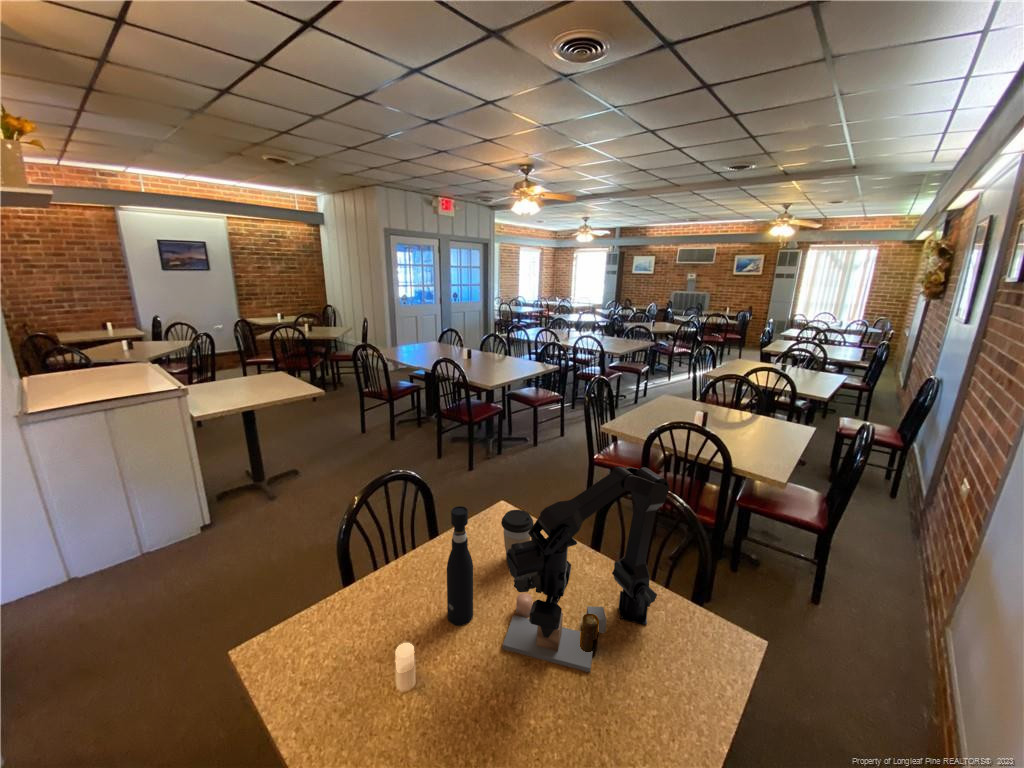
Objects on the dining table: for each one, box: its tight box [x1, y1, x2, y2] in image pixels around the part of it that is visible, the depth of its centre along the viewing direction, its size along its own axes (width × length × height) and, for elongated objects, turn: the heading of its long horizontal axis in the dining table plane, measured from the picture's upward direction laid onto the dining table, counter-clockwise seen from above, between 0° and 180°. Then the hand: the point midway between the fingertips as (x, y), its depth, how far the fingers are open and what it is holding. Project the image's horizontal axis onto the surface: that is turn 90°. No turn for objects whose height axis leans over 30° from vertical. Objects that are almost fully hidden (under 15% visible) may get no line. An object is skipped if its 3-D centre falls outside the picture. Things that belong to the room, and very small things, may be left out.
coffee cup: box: [501, 509, 535, 560], centre depth 123 cm, size 9×9×15 cm
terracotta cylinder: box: [515, 592, 533, 619], centre depth 106 cm, size 4×4×4 cm
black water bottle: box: [446, 505, 474, 627], centre depth 101 cm, size 6×6×30 cm
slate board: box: [502, 614, 594, 673], centre depth 97 cm, size 20×9×1 cm, turn 74°
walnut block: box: [537, 612, 564, 651], centre depth 97 cm, size 5×5×6 cm
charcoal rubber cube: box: [586, 605, 607, 634], centre depth 102 cm, size 4×4×4 cm
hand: (549, 620), depth 96 cm, fingers open, 9 cm apart
